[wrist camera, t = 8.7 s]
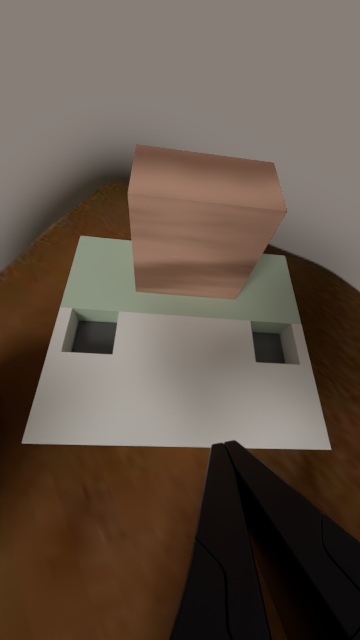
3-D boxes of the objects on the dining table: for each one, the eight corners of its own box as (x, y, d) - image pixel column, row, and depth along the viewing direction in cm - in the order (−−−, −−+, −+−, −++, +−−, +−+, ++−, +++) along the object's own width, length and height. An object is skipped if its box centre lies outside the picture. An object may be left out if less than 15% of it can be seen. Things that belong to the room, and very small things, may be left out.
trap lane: (311, 449, 20) (331, 449, 18) (36, 443, 18) (21, 443, 16) (274, 270, 29) (284, 255, 27) (86, 252, 27) (80, 235, 25)
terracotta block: (235, 299, 23) (287, 211, 15) (135, 292, 23) (127, 193, 14) (230, 259, 26) (273, 162, 17) (140, 251, 25) (136, 144, 16)
